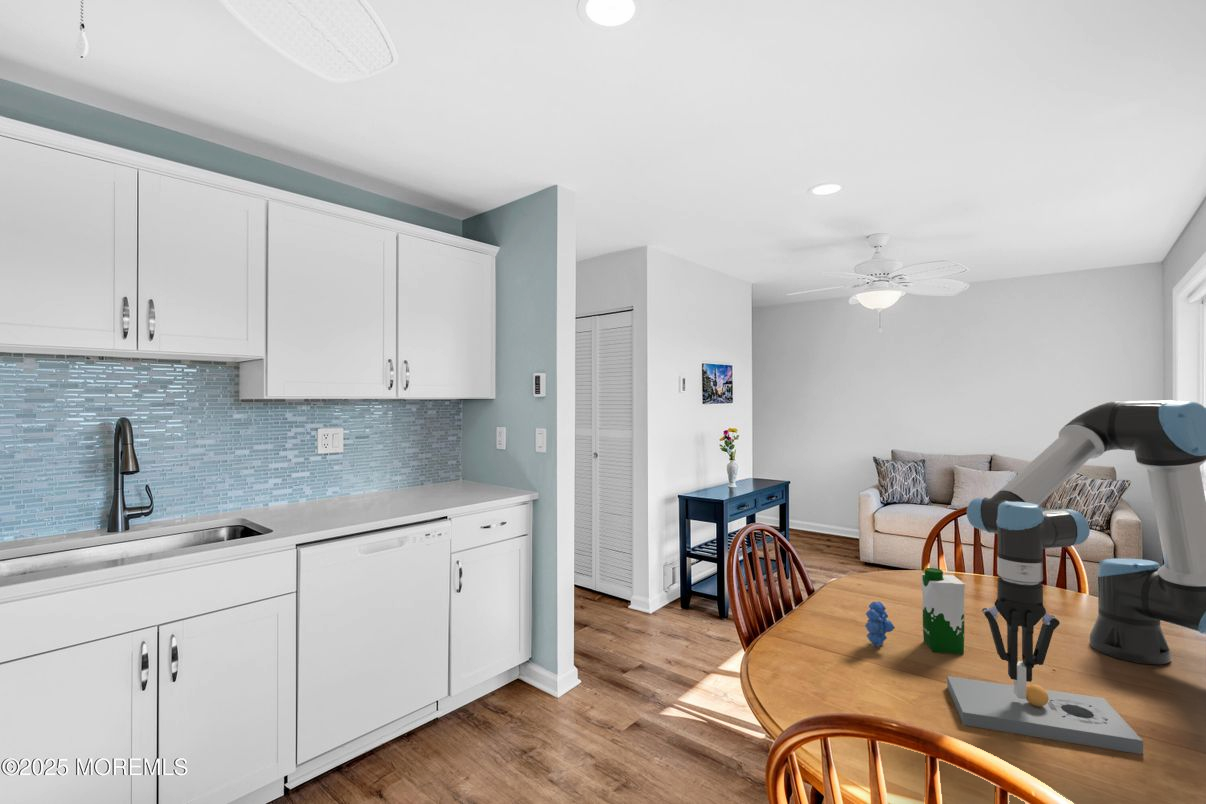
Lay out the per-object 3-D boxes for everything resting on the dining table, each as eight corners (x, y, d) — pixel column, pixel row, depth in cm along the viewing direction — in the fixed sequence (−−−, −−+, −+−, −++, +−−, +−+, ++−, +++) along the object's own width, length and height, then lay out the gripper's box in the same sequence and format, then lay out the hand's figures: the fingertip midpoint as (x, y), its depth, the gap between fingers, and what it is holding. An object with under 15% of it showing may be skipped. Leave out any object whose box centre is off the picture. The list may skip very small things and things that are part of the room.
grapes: (888, 658, 144) (887, 610, 144) (860, 651, 149) (859, 604, 148) (901, 643, 153) (900, 598, 153) (874, 637, 157) (873, 592, 157)
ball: (1019, 695, 120) (1042, 703, 118) (1024, 705, 116) (1048, 713, 114) (1024, 677, 119) (1047, 685, 118) (1030, 686, 116) (1053, 694, 114)
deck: (1103, 710, 119) (1103, 697, 119) (1143, 754, 105) (1142, 740, 105) (947, 687, 130) (947, 676, 130) (963, 724, 115) (963, 712, 115)
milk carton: (918, 639, 155) (918, 564, 155) (956, 642, 153) (955, 566, 153) (930, 653, 147) (929, 574, 146) (970, 656, 145) (969, 576, 145)
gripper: (986, 581, 117) (987, 698, 117) (1065, 588, 112) (1066, 711, 112) (978, 571, 124) (978, 681, 124) (1051, 577, 119) (1052, 692, 119)
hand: (1020, 695), depth 118 cm, fingers closed
